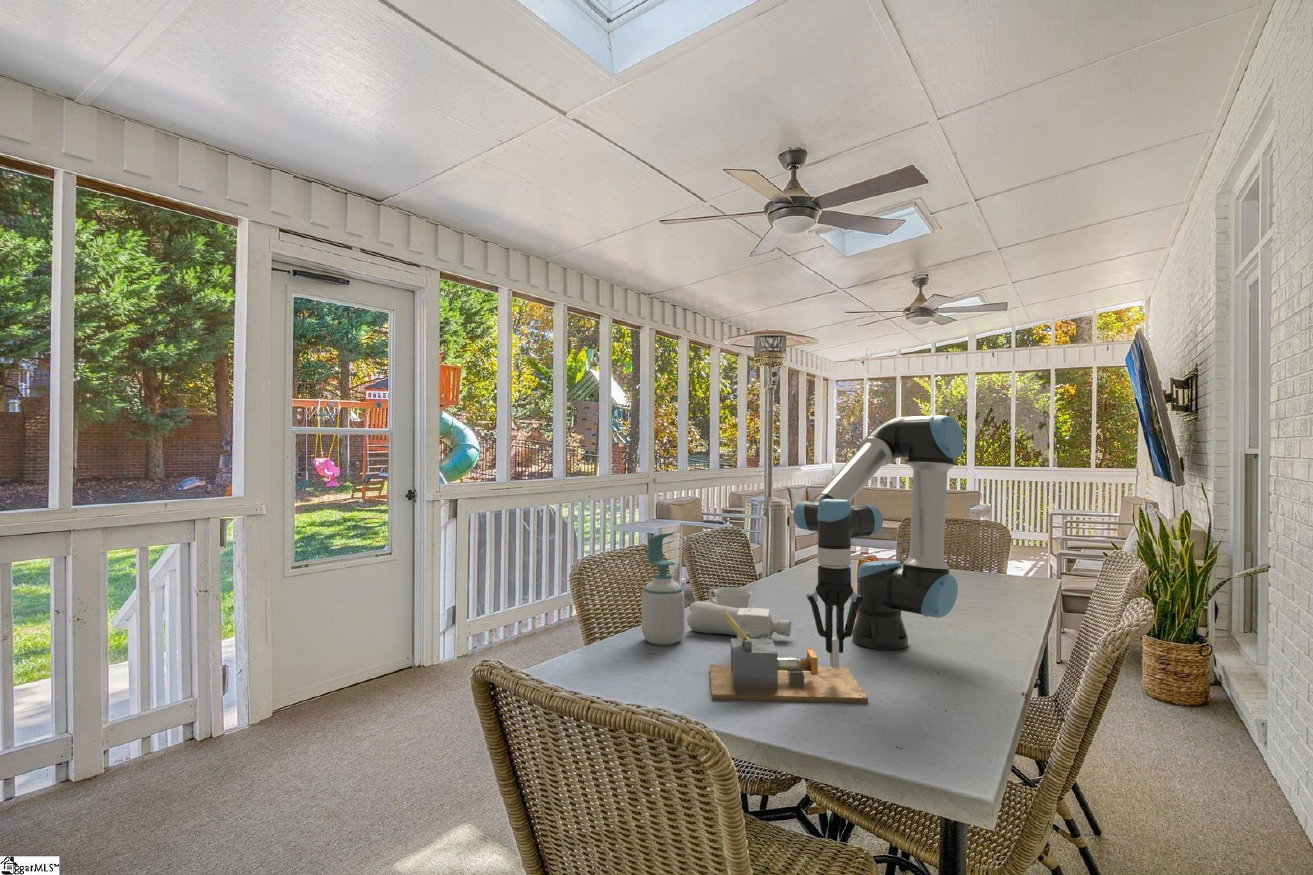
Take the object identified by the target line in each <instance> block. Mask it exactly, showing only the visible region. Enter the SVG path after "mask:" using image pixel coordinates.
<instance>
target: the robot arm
mask: <svg viewBox="0 0 1313 875" xmlns="http://www.w3.org/2000/svg"><path fill="white" fill-rule="evenodd" d="M859 447H860V448H859V449H858V450H857V451H856V452H855V453H854V455H853V456H852V457H851V458H850V459H849V460H848V461H847V462H846V463H845V465H843V466H842V467H841V469H839V471H838V472H837V473H836V474H835V475H834V476H833V477H832V478H831V479H830V480H829V481H828V483H826V485H825V486H824V487H823V488H822V489H821V490H820V491H819V492H818V494H816V495H815V497H813V499H812V500H811V501H810V500H803V501H799V502H797V503H796V505H795V506H794V509H793V514H792V517H793V518H792V519H793V521H794V524H795V525H796V527H798V528H799V529H801V530H805V531H809V532H817V563H818V564H819V565H818V566H817V585H816V587H815V590H814V591H813V592H812V593H807V594H806V598H807V600H808V601H809V603H810V605H811V610H812V614H813V619H814V623H815V626H816V630H817V633H818V635H819V636H820V637H821V638H825V651H826V652H827V653H828V654H829V665H830V667H832V668H839V667H840V654H843V653H844V640H845V639H846V638H850V637H851V639H852V642H853V643H854V644H856V645H857V646H861V647H864V648H869V649H875V650H880V651H881V650H884V651H892V650H893V651H894V650H902V649H905V648H906V647H907V648H908V646H909V637H908V636H909V635H908V633H907V630H906V627H905V625H904V622H903V619H902V618H903V617H902V612H907V613H912V614H916V615H921V616H923V617H930V618H931V617H932V618H936V619H940V618H944V617H946V616H947V615H948V614H949V613H951V611H952V609H953V608H954V607H955V604H956V602H957V598H958V595H959V594H958V592H959V586H958V583H957V582H958V580H957V578H956V577H955V576H953V575H951V574H950V566H949V565H948V564H947V563H946V562H945V560H944V559H945V558H944V554H945V552H944V551H945V532H946V529H945V528H946V507H947V490H948V489H947V485H948V472H949V470H951V469H952V468H953V467H954V463H955V460H956V459H958V458H960V457H961V456H962V454H963V452H964V447H965V439H964V433H963V430H962V427H961V426H960V424H959V423H958V421H957V420H956V419H955V418H953V417H952V416H950V415H938V414H933V415H918V416H917V415H916V416H899V417H894V418H891V419H890V420H888V421H886V422H884V423H882V424H880V425H879V426H877V427H876V428H875V429H874V430H872V431H871V432H870V433H868V435H867V436H865V438H863V440H862V441H861V442H860V446H859ZM901 458H907V464H908V465H909V466H910V468H912V471H913V475H912V494H911V496H912V497H911V517H910V535H909V536H910V537H909V539H910V540H909V556H908V558H907V559H905V560H904V561H903V563H901V561H900V560H893V559H891V560H888V559H887V560H873V561H865V562H862V563H860V565H859V566H858V573H857V583H858V584H857V587H858V588H857V590H858V593H856V592H855V591H854V589H853V586H852V568H851V567H850V565H852V544H851V542H852V538H861V537H869V536H873V535H876V534H877V533H879V532H880V531H881V529H882V528H883V524H884V519H883V518H884V517H883V515H882V513H881V510H879V508H878V507H876V506H875V505H873V504H859V505H858V504H857V505H856V504H851V502H852V500H853V499H854V498H856V496H857V494H858V493H859V492H860V491H861V490H862V489H863V488H864V487H865V486H866V484H867V483H868V482H869V481H870V480H871V479H872V478H873V477H874V476H875V474H877V472H878V471H879V470H880V468H882V467H884V466H887V465H889V464H890V463H891V462H892V461H893V460H895V459H901ZM819 598H820V599H821V601H822V602H823V603H824V611H825V612H824V613H825V614H824V618H825V621H824V622H825V623H824V624H825V627H824V625H823V622H822V616H821V614H820V609H819V605H818V603H817V602H818V601H819ZM849 599H850V601H851V602H850V605H849V610H848V613H847V619H846V622H845V621H844V619H845V616H844V614H845V613H844V612H845V604H846V603H847V602H848V600H849ZM834 606H835V608H836V610H835V611H836V612H835V615H836V617H835V618H836V622H835V623H836V624H835V625H836V627H835V628H836V631H835V632H836V634H835V635H836V636H833V632H834V631H833V625H834V624H833V611H834ZM844 622H845V623H844Z"/></svg>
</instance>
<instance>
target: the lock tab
mask: <svg viewBox="0 0 1313 875" xmlns="http://www.w3.org/2000/svg"><path fill="white" fill-rule="evenodd" d="M722 616H723V617H724V618H725V620H726V621H727V622H728V623H729V624H730V626H731V627H732V628H733V629H734V630H735V632H736V633H737V634H738V635H739V637H740V638H741V639H742V640H743V641H744V640H749V637H748V635H746V634H745V632H744V631H743V630H742V629H741V628H740V626H739V625H738V624H737V623H736V622H735V620H734V619H733V618H732V617H731V616H730V614H729V613H728V612H727V611H726V610H725V609H724V610H723V611H722Z"/></svg>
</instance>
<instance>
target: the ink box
mask: <svg viewBox="0 0 1313 875" xmlns="http://www.w3.org/2000/svg"><path fill="white" fill-rule="evenodd" d="M769 613H770V608H761V607H759V608H758V607H748V608H740V609H739V611H738V613H737V624H738V625H739V626H740V628H741V629H742V630H743V631H744V632H749V639H770V638H769V632H770V621H769ZM736 639H741V638H740V637H739V635H738V634H737V635H736Z"/></svg>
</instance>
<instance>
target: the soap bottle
mask: <svg viewBox="0 0 1313 875" xmlns="http://www.w3.org/2000/svg"><path fill="white" fill-rule="evenodd" d="M672 535H674V533H673V532H669V533H660V534H657V535H655V536H651V537H650V538H648V543H647V544H648V546H647V547H648V548H647V550H648V551H647V553H648V556H647V557H648V558H647V559H648V562H649V564H650V565H654V566H656V569H658V570H659V573H655V574H654V575H653V577H654V578H653V579H652V580H651V581H650V582H648V583H647V584H646V585H644V586H643V587H642V589H643V590H642V591H641V632H642V635H643V637H644V639H645V641H646V642H648V643H649V644H652V645H655V646H671V645H672V646H673V645H675V644H677V643H678V642H680V641H681V639H682V638H683V636H684V632H685V626H686V625H685V622H686V621H685V620H686V618H685V616H686V615H685V591H684V588H683V586H682V585H680V584H679V583H678V582H677V581H675V580H674V579H673V575H672V574H671V573H668V572H667V570H668V569H670V566H673V565H675V564H676V562H675V561H670V560H665V559H664V557H663V540H664V539H665V538H667V537H669V536H672Z"/></svg>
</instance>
